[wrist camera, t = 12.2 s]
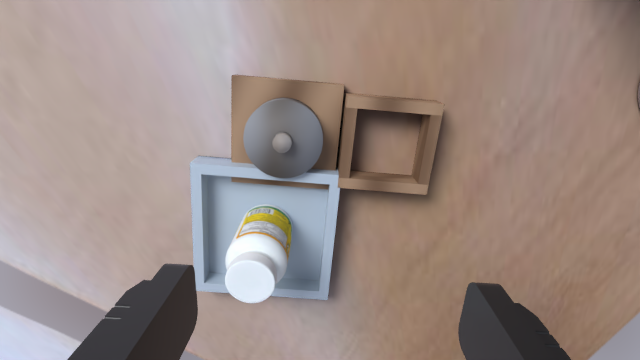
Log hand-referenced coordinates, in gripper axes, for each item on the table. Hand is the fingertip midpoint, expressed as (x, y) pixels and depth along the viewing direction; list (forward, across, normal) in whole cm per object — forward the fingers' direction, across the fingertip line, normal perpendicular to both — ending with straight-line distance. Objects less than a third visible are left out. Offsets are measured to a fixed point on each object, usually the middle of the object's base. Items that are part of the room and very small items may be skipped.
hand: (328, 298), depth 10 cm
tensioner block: (+25, 0, +1) cm, 25 cm away
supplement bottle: (+25, +6, +10) cm, 27 cm away
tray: (+25, +6, +10) cm, 28 cm away
